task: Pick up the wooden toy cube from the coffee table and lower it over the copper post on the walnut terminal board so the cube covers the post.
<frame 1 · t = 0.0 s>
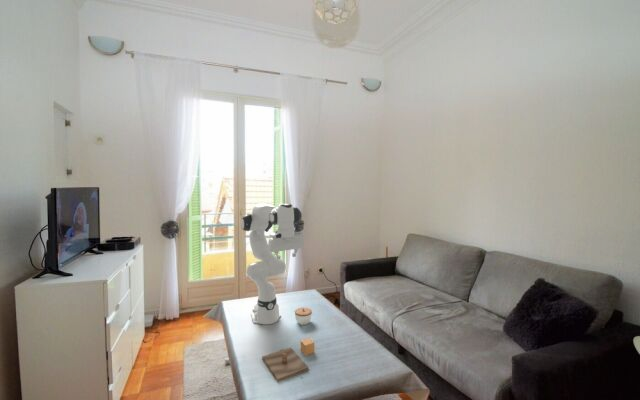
hand: (286, 257, 165), 48 cm above the table, fingers open, 8 cm apart
lidded jar: (303, 323, 190), on the table
wooden toy cube: (307, 351, 159), on the table
post block: (284, 364, 147), on the table
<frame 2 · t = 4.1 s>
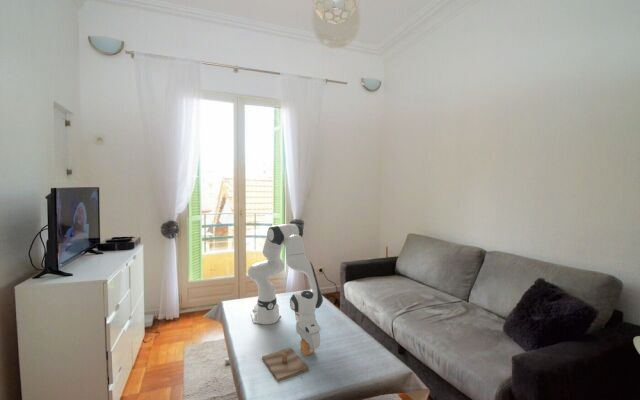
hand: (307, 347, 158), 2 cm above the table, fingers closed on wooden toy cube, 5 cm apart
wooden toy cube: (307, 351, 159), on the table, touching gripper
everything else where it was.
when the fingers open (4 cm above the table, at t = 11.3 s): wooden toy cube stays where it is, resting on post block.
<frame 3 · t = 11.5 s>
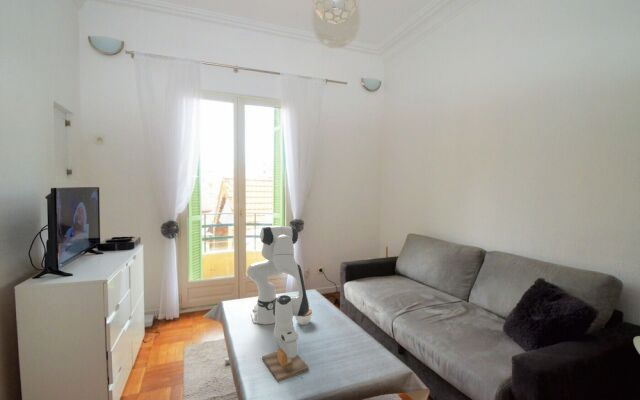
hand: (284, 357, 147), 4 cm above the table, fingers open, 8 cm apart
wooden toy cube: (284, 361, 147), point 1 cm above the table, touching post block
everything else where it was.
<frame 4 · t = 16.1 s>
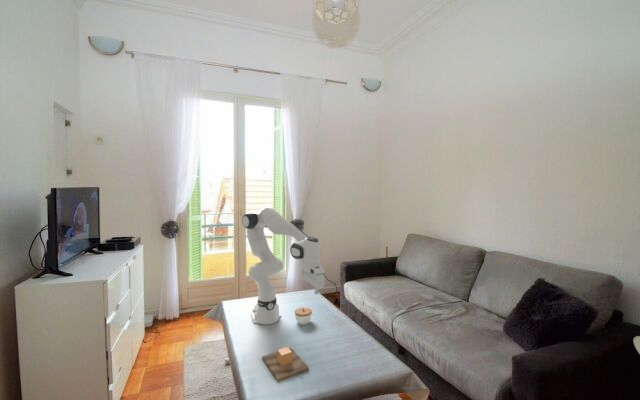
hand: (312, 291, 166), 29 cm above the table, fingers open, 8 cm apart
nothing on the table moved.
at the end: wooden toy cube 0.1 cm from the post block (horizontally); wooden toy cube point 1.5 cm above the table; wooden toy cube tilted 0° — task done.
